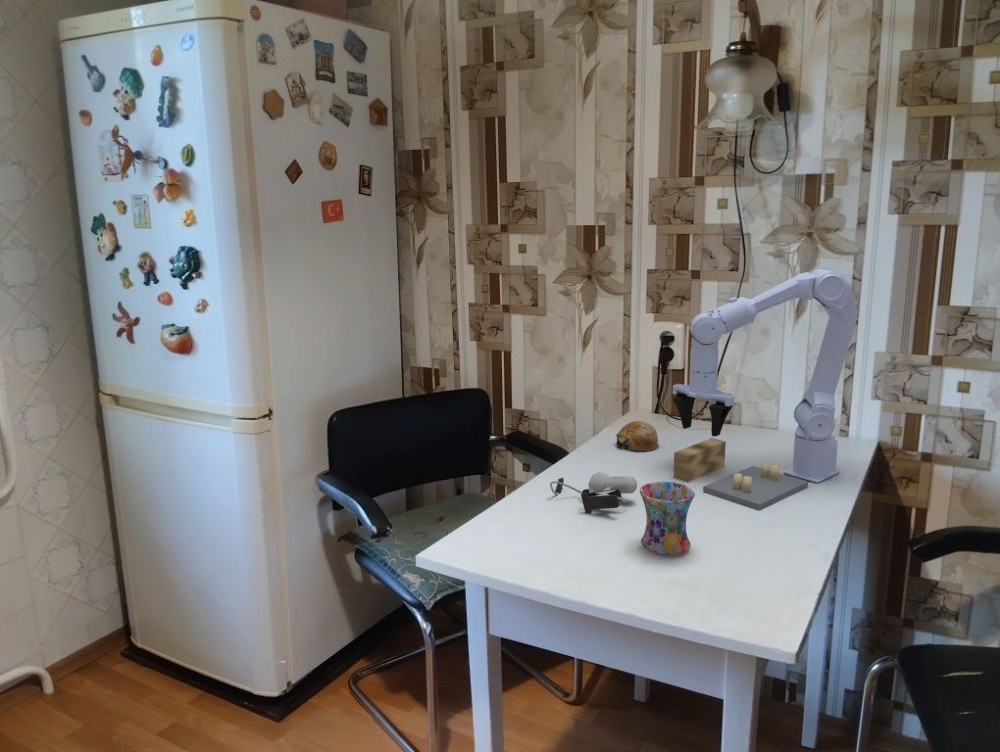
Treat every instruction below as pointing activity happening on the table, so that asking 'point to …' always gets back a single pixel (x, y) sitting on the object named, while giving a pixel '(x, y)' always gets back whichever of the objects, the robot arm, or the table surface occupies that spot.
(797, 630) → the table surface
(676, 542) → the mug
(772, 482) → the peg stand
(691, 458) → the oak bar
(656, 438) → the bread roll
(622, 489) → the clip-on lamp
